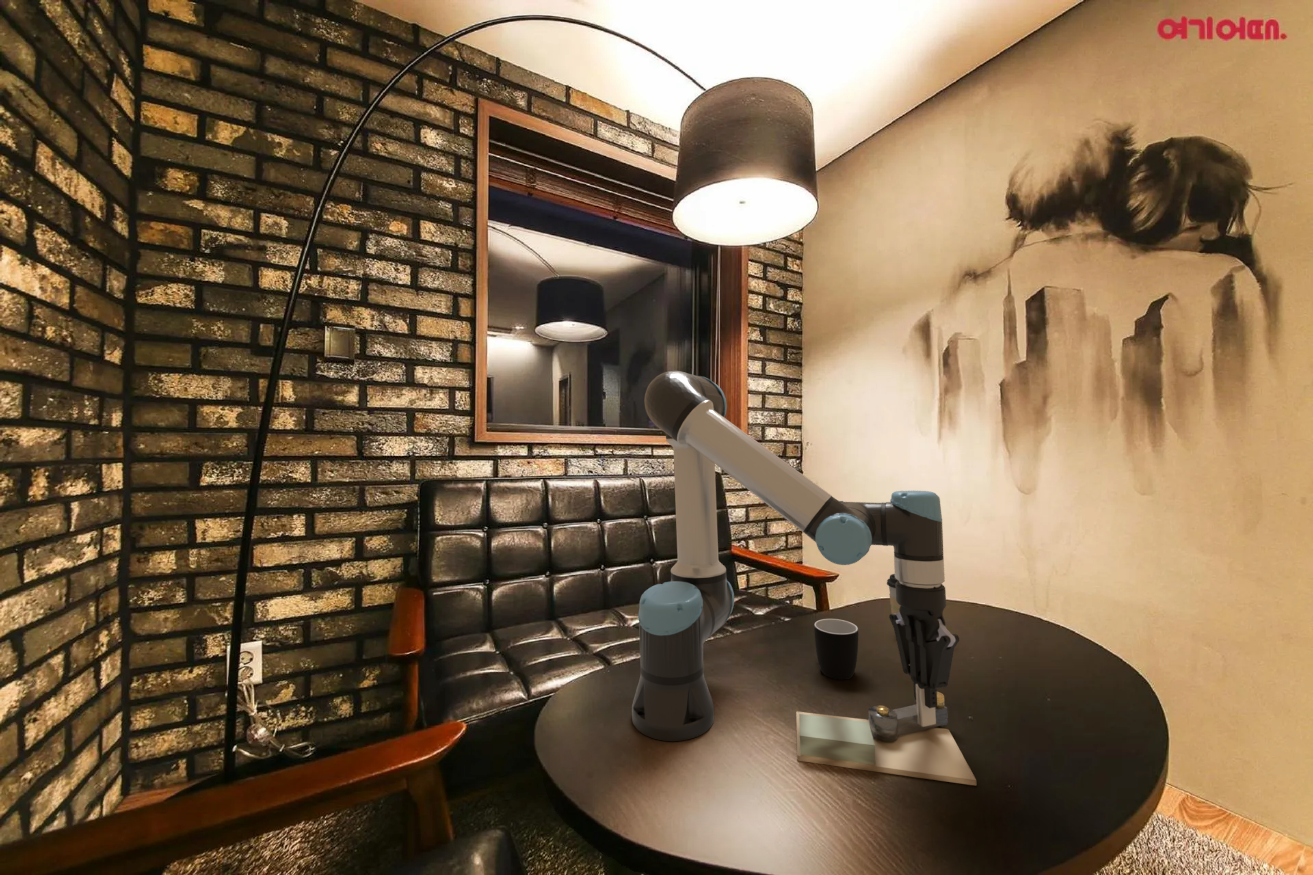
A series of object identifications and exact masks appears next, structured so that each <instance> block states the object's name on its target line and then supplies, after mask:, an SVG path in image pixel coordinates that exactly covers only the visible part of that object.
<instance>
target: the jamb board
mask: <svg viewBox="0 0 1313 875" xmlns="http://www.w3.org/2000/svg"><path fill="white" fill-rule="evenodd" d="M795 714H796V717H795V718H796V752H797V753H796V754H797V755H796V757H797V761H800V762H804V763H805V762H807V763H814V764H821V765H828V766H836V767H842V768H849V769H855V770H863V771H869V772H877V773H884V774H891V775H898V776H903V777H904V776H905V777H912V778H919V779H925V780H926V779H927V780H932V781H933V780H935V781H940V782H949V783H955V784H962V785H968V786H977V779H976V777H975V775H974V774H973V772H972V770H971V767H970V766H969V764H968V763H967V762H968V761H966V759H965V757H964V755H963V753H962V751H961V750H960V748H959V746H958V744H957V742H956V740H955V739H954V737H953V735H952V733H951V731H950V730H949V728H943V727H942V728H941V727H933V728H929V729H925V730H921V731H917V732H913V733H909V734H905V735H901V736H898V739H897V740H896V741H894V742H883V741H880V740H877V739H875V738H874V737H872V733H871V729H870V726H869V719H865V718H856V717H847V716H838V715H831V714H822V713H814V712H813V713H812V712H806V711H805V712H803V711H796V713H795Z"/></svg>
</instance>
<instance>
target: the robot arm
mask: <svg viewBox="0 0 1313 875" xmlns="http://www.w3.org/2000/svg"><path fill="white" fill-rule="evenodd" d="M643 401H644V408H645V412H646V415H647V416H648V418H649V420H650V421H652V423H653V424H654V425H655V426H656V427H657V428H659V429H660V430H661V431H662V432H664V433H665V441H666V442H667V443H668V444H669V445H670V446H671V448H672V449H673V472H674V473H673V474H674V494H675V495H674V496H675V497H674V498H675V499H674V500H675V501H674V502H675V521H676V524H675V525H676V526H675V527H676V549H677V561H676V562H675V564H674V565H673V566H672V567H671V568H670V581H665V582H662V584H661V583H657V584H654V585H653V586H650V587H649V588H648V589H646V590H645V591H644V592H643V593H642V594H641V596H640V600H639V607H638V608H639V610H638V612H637V613H638V614H637V616H638V619H637V620H638V625H639V626H638V628H639V659H640V660H639V661H640V664H639V665H640V677H639V680H638V684H637V686H636V690H635V694H634V696H633V697H634V698H633V699H632V705H631V720H632V721H631V722H632V724H633V726H634V728H635V729H636V730H637V731H639V732H640V733H641V734H642V735H645V736H646V737H648V738H652V739H655V740H659V741H664V742H666V741H667V742H681V741H689V740H692V739H694V738H697V737H699V736H702V735H703V734H705V733H707V732H708V731H709V730H710V728H712V726H713V724H714V721H715V706H714V702H713V698H712V695H711V693H710V691H709V690H710V689H709V688H708V684H707V681H706V678H705V674H704V643H705V642H706V641H707V640H708V639H709V638H710V637H711V636H712V635H714V634H715V633H716V632H717V631H718V630H719V629H721V628H722V627H723V626H724V625H726V623H727V621H728V619H730V616H731V614H732V612H733V608H734V607H735V606H734V605H735V593H734V590H733V587H732V584H731V583H730V582H729V581H728V579H727V568H726V566H725V565H723V563H721V562H720V560H719V543H718V542H719V540H718V539H719V538H718V514H717V513H718V512H717V511H718V510H717V491H716V490H717V487H716V467H715V466H717V467H718V468H720V469H721V470H722V471H724V472H725V473H726V474H727V475H728V476H730V477H731V478H733V479H734V480H735V481H736V482H738V483H739V484H740V485H742V486H743V487H744V488H746V489H747V490H748V491H749V492H750V493H752V494H753V495H755V497H757V498H758V499H759V500H761V501H762V502H763V503H764V504H766V505H767V506H768V507H770V508H771V509H772V510H773V511H776V513H778V514H779V515H780V516H782V517H783V519H785V520H786V521H788V522H789V523H791V525H793V526H794V527H796V528H797V529H798V530H799V531H800V532H802V533H803V534H804V535H806V536H807V537H809V538H810V539H811V540H812V541H813V542H814V543H816V547H817V549H818V551H819V552H820V554H821V555H822V556H823V557H824V558H825V559H826V560H827V561H829V562H830V563H832V564H835V565H840V566H850V565H852V564H855V563H857V562H859V561H860V560H862V559H863V558H864V557H865V556H866V555H868V553H869V552H870V549H871V547H872V546H883V547H888V546H893V561H894V563H893V566H894V568H893V569H894V574H895V578H896V579H897V580H898V581H897V582H896V583H895V586H896V601H897V603H898V604H899V605H900V608H899V612H898V613H896V614H892V613H890V614H889V620H890V622H891V624H892V628H893V629H894V633H895V635H894V636H895V639H896V643H897V649H898V653H899V658H900V662H901V666H902V671H903V673H904V674H906V675H909V676H910V680H911V681H912V682H913V696H914V700H915V701H916V704H917V716H918V724H919V725H921V726H922V727H924V726H929V725H933V724H936V714H935V707H937V692H938V690H937V689H942V688H948V684H949V679H950V674H951V668H952V662H953V657H954V651H955V648H956V646H957V645H958V644H959V641H960V637H959V635H958V634H956V633H953V634H952V633H951V632H950V631H949V630H948V629H947V627H946V624H947V623H946V620H945V618H944V615H943V613H944V610H945V608H946V607H947V597H946V594H947V593H946V592H947V591H946V586H945V585H944V584H943V583H944V582H945V562H944V533H943V517H942V508H941V506H942V505H941V499H940V496H939V495H938V494H937V493H935V492H933V491H928V490H898V491H897V490H896V491H893V492H892V493H891V498H890V501H886V502H866V501H865V502H864V501H863V502H861V501H843V500H838V499H836V498H835V497H833V496H832V495H831V494H830V493H828V492H827V491H826V490H825V489H824V488H822V487H820V486H819V485H818V484H817V483H815V482H813V481H812V480H811V479H809V477H806V476H805V475H804V474H802V473H801V472H800V471H798V470H797V469H796V468H794V467H793V466H791V465H790V464H789V463H788V462H786V461H785V460H783V459H782V458H781V457H779V456H777V455H776V454H775V453H773V451H771V450H769V449H768V448H767V447H765V446H764V445H762V444H761V443H760V442H758V441H757V440H756V439H754V438H753V437H751V436H750V435H748V434H747V433H746V432H744V431H743V429H740V428H739V427H738V426H736V425H735V424H733V423H732V422H731V421H729V420H728V419H727V418H726V417H725V416H726V414H727V409H728V408H727V407H728V405H727V399H726V395H725V393H724V391H723V390H722V388H721V387H720V386H719V385H718V384H716V383H715V381H712V380H711V379H710V378H707V377H705V376H701V375H695V374H692V373H687V372H684V371H680V370H669V371H665V372H662V373H660V374H659V375H657V376H655V378H653V379H652V380H651V382H650V383H649V384H648V385H647V387H646V390H645V394H644V400H643Z"/></svg>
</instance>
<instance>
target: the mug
mask: <svg viewBox="0 0 1313 875" xmlns="http://www.w3.org/2000/svg"><path fill="white" fill-rule="evenodd" d="M813 630H814V631H813V633H814V644H815V651H816V656H817V657H816V658H817V661H818V666H819V668H820V671H821V673H822V674H823V675H824V676H825V677H828V678H831V679H834V680H848V679H851V678H852V677H853V675H854V674H855V671H856V667H857V661H858V652H859V627H858V626H857V625H856V624H854V623H852V622H850V621H848V620H843V619H838V618H823V619H822V618H821V619H819V620H817V621H815V622H814V626H813Z"/></svg>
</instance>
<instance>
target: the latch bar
mask: <svg viewBox="0 0 1313 875" xmlns="http://www.w3.org/2000/svg"><path fill="white" fill-rule="evenodd" d="M867 712H868V720H869V726H870V729H871V733H872V737H874V738H875V739H877V740H880V741H883V742H894V741H896V740H897V739H898V736H901V735H905V734H909V733H913V732H917V731H921V730H925V729H929V728H933V727H934V728H938V727H941V726H945V725H948V724H949V721H948V719H949V718H948V707H947V706H945V695H944V694H943V693H942V692H941V691H940V692H939V691H937V707H935V714H936V724H933V725H929V726H924V727H922V726H921V725H919V724H918V716H917V703H916V704H912V705H911V704H910V705H909V706H904V707H899V708H895V709H891V708H890V707H887V706H885V705H876V706H875V705H874V706H870V707H869V708H868V711H867Z"/></svg>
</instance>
